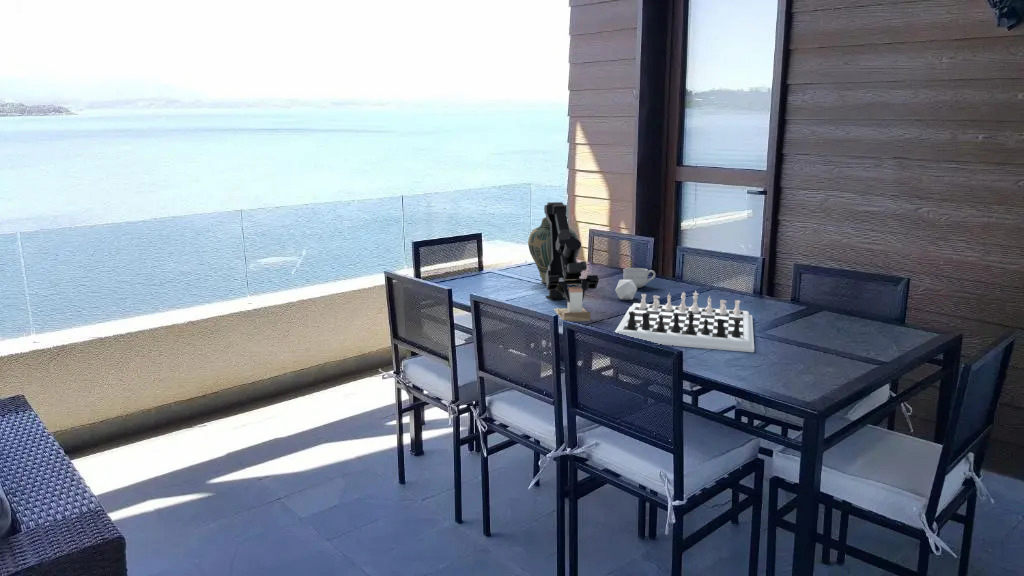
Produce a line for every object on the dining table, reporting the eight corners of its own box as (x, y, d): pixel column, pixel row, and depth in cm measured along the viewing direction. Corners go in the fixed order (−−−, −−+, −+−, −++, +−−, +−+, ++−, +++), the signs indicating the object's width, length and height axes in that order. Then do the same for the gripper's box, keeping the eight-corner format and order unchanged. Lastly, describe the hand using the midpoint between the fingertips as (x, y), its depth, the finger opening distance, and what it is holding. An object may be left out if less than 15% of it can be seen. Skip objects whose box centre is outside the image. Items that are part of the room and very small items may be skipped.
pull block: (567, 316, 278) (567, 287, 275) (579, 315, 278) (579, 286, 276) (569, 319, 273) (570, 289, 271) (581, 319, 274) (582, 289, 272)
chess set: (751, 319, 279) (753, 291, 276) (753, 354, 236) (756, 320, 234) (630, 310, 291) (631, 283, 289) (611, 342, 249) (612, 310, 247)
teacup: (620, 288, 329) (621, 270, 327) (624, 283, 339) (625, 266, 337) (652, 290, 324) (653, 272, 323) (656, 285, 334) (656, 267, 333)
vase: (563, 289, 325) (565, 220, 319) (519, 284, 336) (519, 217, 330) (585, 280, 344) (587, 215, 338) (542, 275, 355) (543, 212, 349)
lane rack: (553, 310, 289) (553, 301, 288) (578, 309, 290) (579, 300, 290) (563, 322, 271) (564, 313, 270) (591, 321, 272) (591, 312, 271)
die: (630, 303, 303) (642, 283, 304) (612, 292, 304) (624, 272, 305) (627, 306, 311) (639, 286, 313) (609, 295, 312) (621, 275, 313)
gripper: (548, 254, 273) (553, 290, 265) (598, 253, 276) (605, 288, 268) (544, 271, 283) (549, 306, 274) (592, 270, 285) (599, 305, 277)
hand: (575, 301), depth 273 cm, fingers closed on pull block, 4 cm apart
